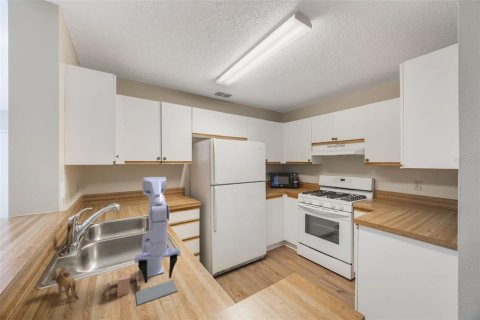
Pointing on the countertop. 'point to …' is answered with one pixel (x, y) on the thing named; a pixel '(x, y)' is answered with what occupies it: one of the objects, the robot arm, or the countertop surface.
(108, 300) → the walnut cradle
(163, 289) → the slate mat
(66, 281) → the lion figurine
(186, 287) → the countertop surface
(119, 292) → the terracotta block
